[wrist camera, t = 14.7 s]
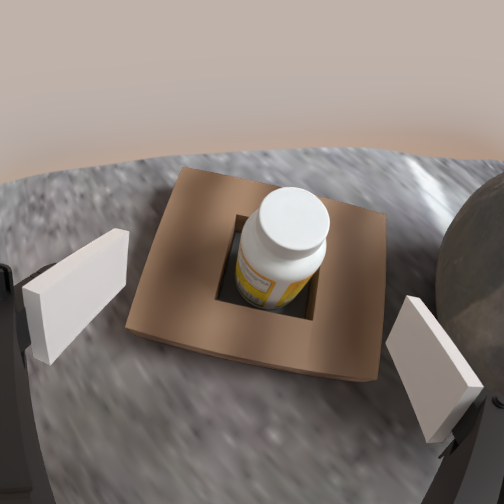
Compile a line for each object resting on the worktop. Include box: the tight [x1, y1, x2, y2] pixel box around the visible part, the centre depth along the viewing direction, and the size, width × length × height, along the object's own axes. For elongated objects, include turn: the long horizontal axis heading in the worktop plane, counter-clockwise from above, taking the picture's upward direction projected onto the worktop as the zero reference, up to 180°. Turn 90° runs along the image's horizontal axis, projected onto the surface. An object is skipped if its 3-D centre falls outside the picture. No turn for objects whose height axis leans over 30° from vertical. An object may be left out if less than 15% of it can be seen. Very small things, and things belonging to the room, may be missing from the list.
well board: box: [125, 167, 386, 382], centre depth 25 cm, size 18×14×3 cm
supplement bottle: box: [235, 187, 330, 309], centre depth 22 cm, size 5×5×10 cm
